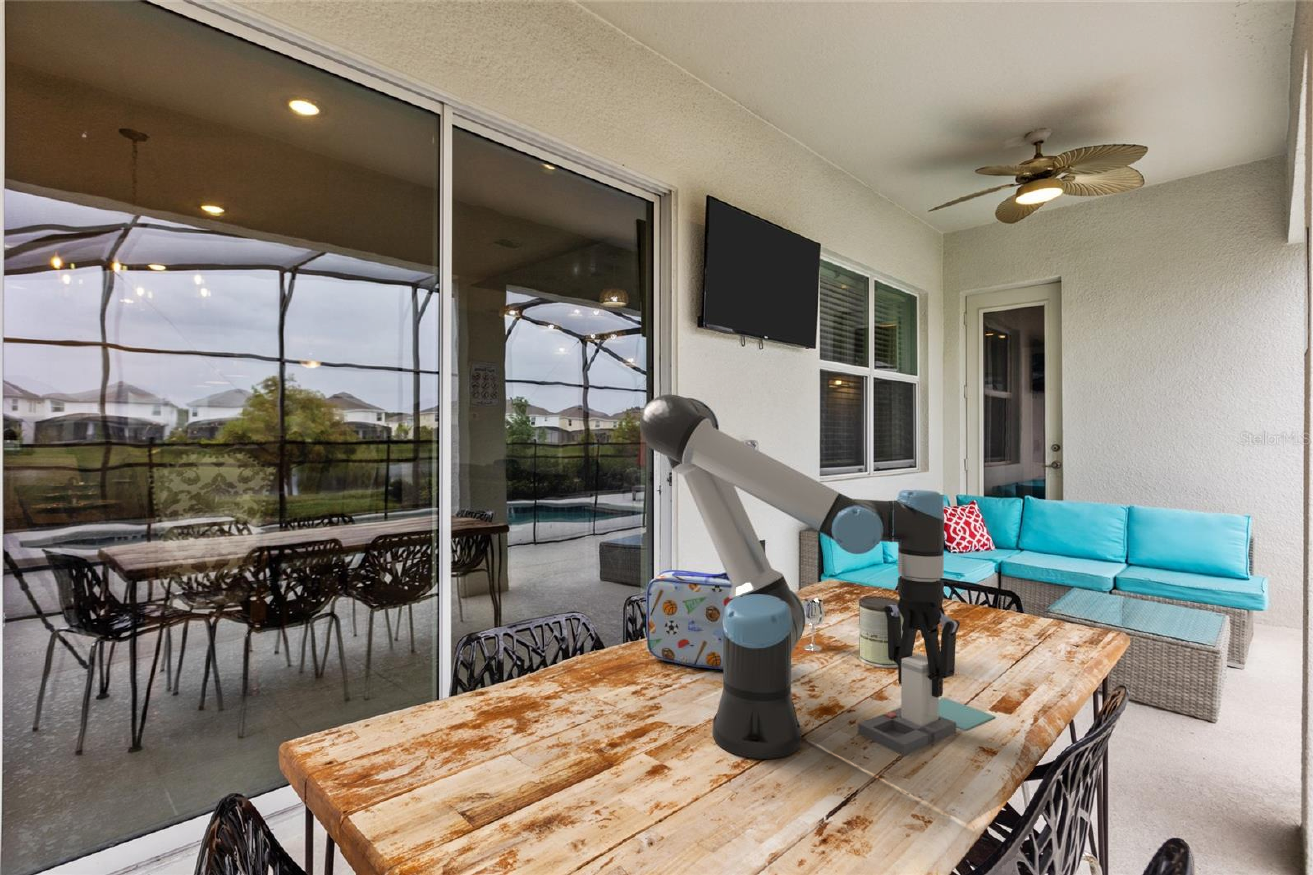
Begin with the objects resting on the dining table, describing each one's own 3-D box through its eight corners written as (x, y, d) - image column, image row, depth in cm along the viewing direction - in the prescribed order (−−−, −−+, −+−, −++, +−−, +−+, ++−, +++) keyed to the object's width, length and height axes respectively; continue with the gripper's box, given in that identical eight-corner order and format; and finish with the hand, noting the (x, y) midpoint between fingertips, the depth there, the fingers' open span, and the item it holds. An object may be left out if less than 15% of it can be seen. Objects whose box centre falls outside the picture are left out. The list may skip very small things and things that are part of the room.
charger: (921, 735, 106) (922, 665, 106) (900, 726, 109) (901, 658, 109) (938, 728, 108) (939, 660, 109) (917, 719, 112) (918, 653, 112)
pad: (965, 735, 108) (965, 729, 108) (914, 714, 116) (914, 709, 116) (995, 721, 113) (995, 716, 113) (944, 702, 121) (944, 697, 121)
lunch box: (766, 663, 143) (767, 569, 143) (759, 679, 133) (760, 577, 133) (655, 649, 152) (656, 560, 152) (641, 663, 142) (642, 568, 142)
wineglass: (808, 652, 150) (808, 603, 151) (796, 645, 156) (797, 598, 156) (828, 651, 152) (829, 602, 152) (816, 643, 158) (817, 597, 158)
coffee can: (854, 652, 151) (854, 595, 151) (897, 654, 150) (897, 596, 150) (864, 667, 141) (864, 606, 141) (910, 669, 140) (910, 607, 140)
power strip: (904, 760, 99) (904, 743, 99) (858, 738, 106) (858, 721, 106) (956, 737, 107) (956, 720, 107) (910, 717, 114) (910, 702, 114)
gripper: (979, 583, 104) (978, 722, 104) (891, 566, 118) (891, 688, 118) (954, 589, 100) (953, 733, 100) (866, 570, 114) (866, 696, 114)
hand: (919, 708), depth 109 cm, fingers closed on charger, 4 cm apart
